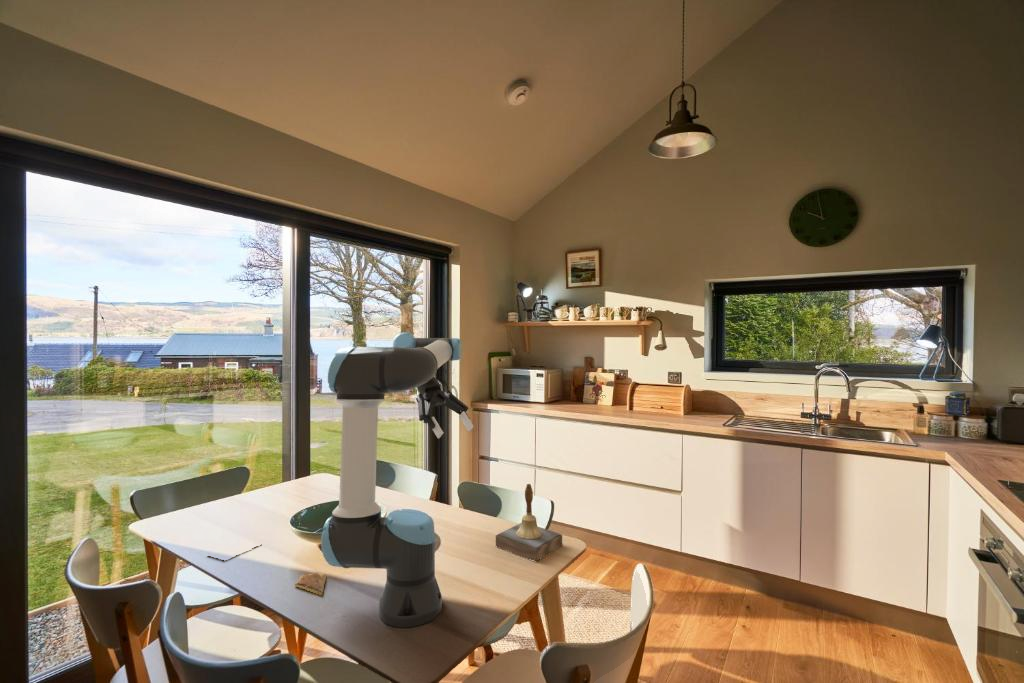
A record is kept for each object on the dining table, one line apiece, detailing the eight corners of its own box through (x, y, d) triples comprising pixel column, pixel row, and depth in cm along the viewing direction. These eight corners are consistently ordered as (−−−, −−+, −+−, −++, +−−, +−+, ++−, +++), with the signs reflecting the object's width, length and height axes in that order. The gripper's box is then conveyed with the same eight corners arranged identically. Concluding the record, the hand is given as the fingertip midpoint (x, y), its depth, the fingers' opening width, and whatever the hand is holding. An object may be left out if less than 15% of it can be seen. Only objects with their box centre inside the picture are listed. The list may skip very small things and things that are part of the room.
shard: (322, 598, 124) (322, 591, 123) (290, 602, 121) (290, 595, 121) (327, 577, 134) (327, 571, 134) (297, 581, 132) (297, 574, 132)
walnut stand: (535, 562, 142) (535, 548, 142) (495, 546, 152) (495, 534, 152) (562, 546, 153) (562, 533, 152) (523, 532, 163) (523, 521, 163)
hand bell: (543, 539, 148) (543, 488, 148) (517, 540, 148) (517, 488, 147) (540, 528, 157) (540, 479, 156) (514, 529, 156) (514, 480, 156)
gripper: (448, 387, 176) (477, 433, 167) (391, 393, 157) (421, 446, 148) (457, 373, 173) (488, 419, 164) (401, 378, 154) (432, 431, 144)
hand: (456, 432), depth 156 cm, fingers open, 13 cm apart
